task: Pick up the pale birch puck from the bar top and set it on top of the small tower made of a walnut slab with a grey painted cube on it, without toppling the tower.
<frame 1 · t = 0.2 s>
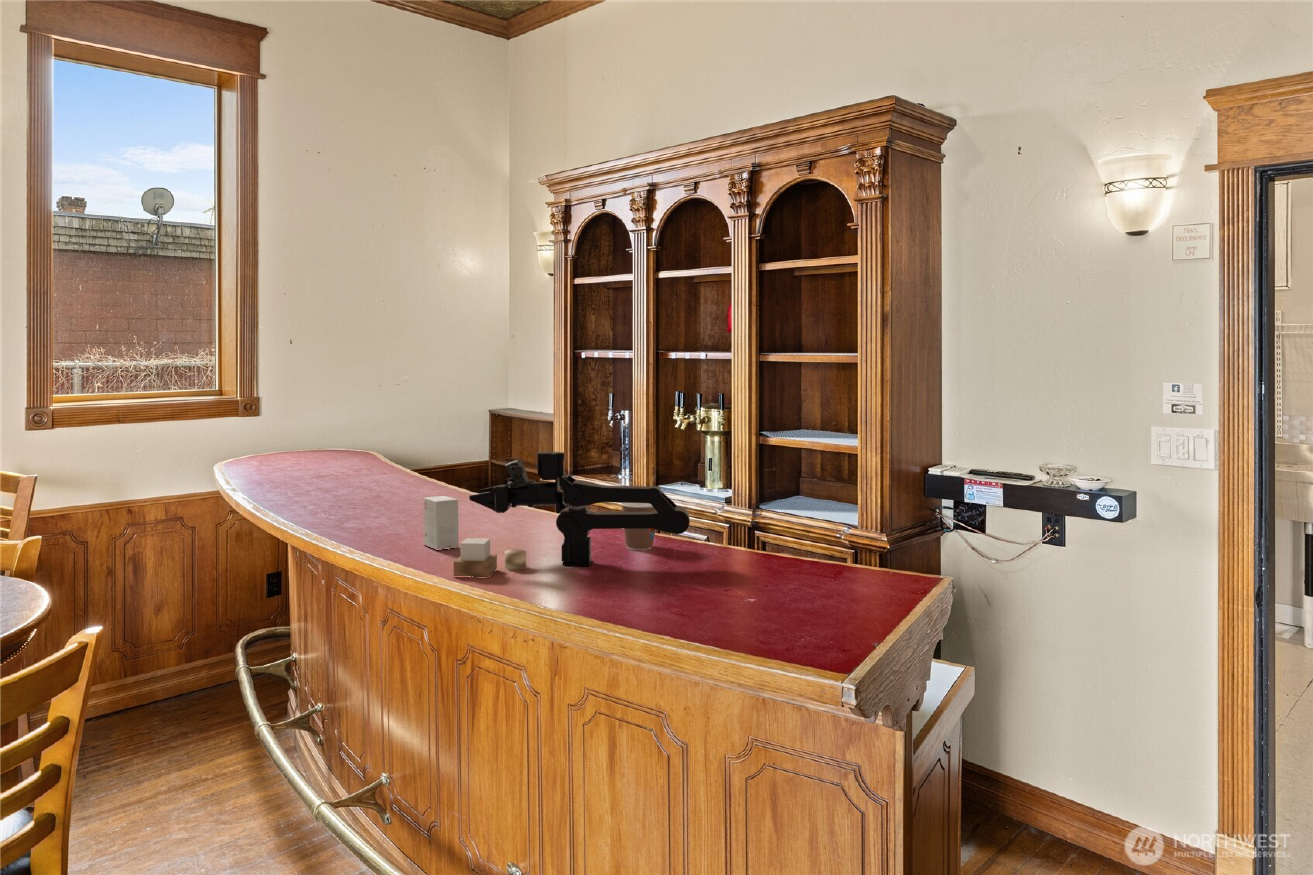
hand: (474, 494, 203), 16 cm above the table, tool horizontal, fingers open, 9 cm apart
small box: (441, 547, 220), on the table
birch puck: (515, 568, 199), on the table
coffee cup: (639, 548, 222), on the table
walnut slab: (475, 574, 193), on the table, touching grey block
grey block: (475, 557, 193), point 4 cm above the table, touching walnut slab
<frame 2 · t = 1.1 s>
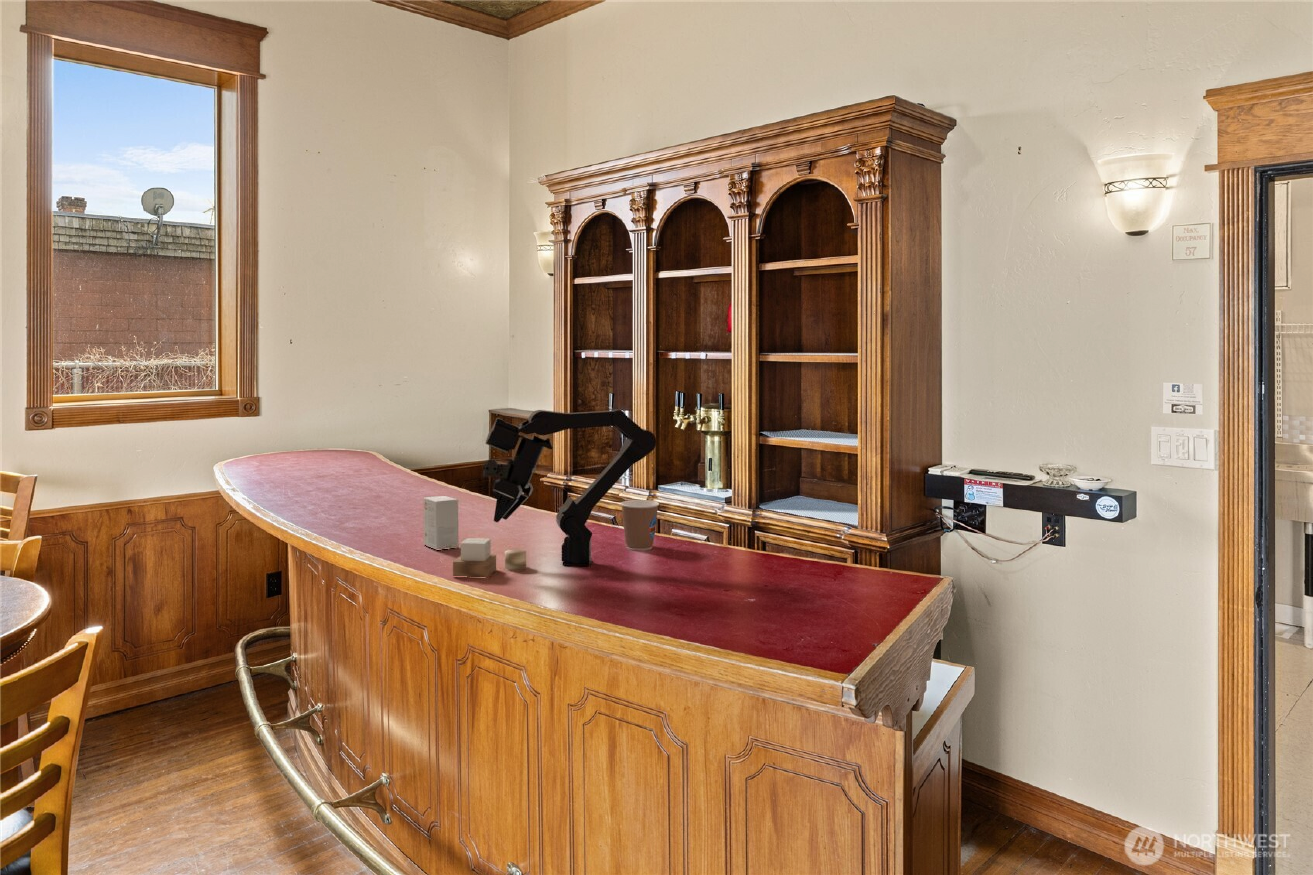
hand: (500, 520, 198), 11 cm above the table, tool tilted 25°, fingers open, 9 cm apart
walnut slab: (475, 575, 193), on the table
grey block: (475, 557, 193), point 4 cm above the table
everything else where it was.
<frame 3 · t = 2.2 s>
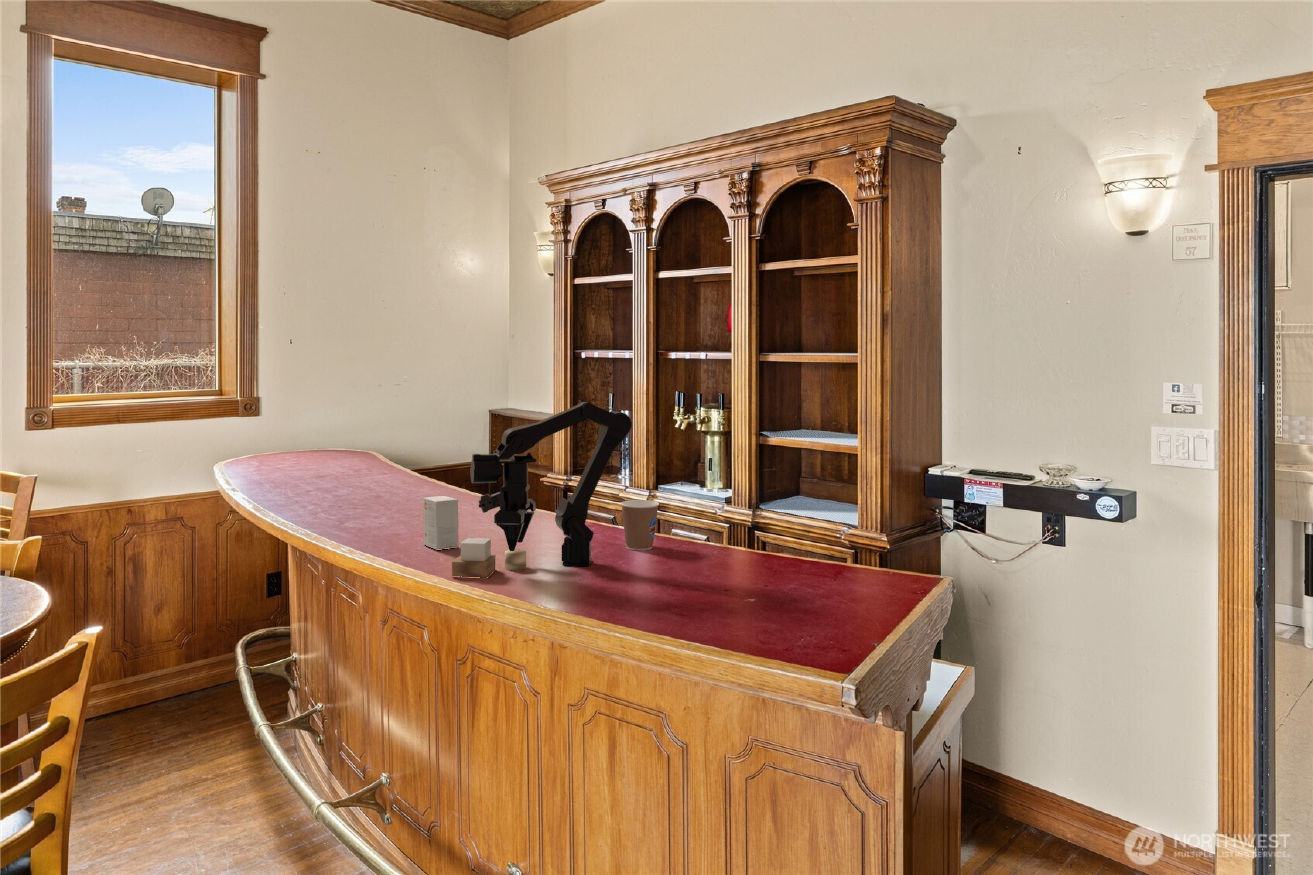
hand: (516, 546, 198), 5 cm above the table, tool pointing down, fingers open, 9 cm apart
walnut slab: (474, 575, 193), on the table, touching grey block
grey block: (476, 557, 193), point 4 cm above the table, touching walnut slab
everything else where it was.
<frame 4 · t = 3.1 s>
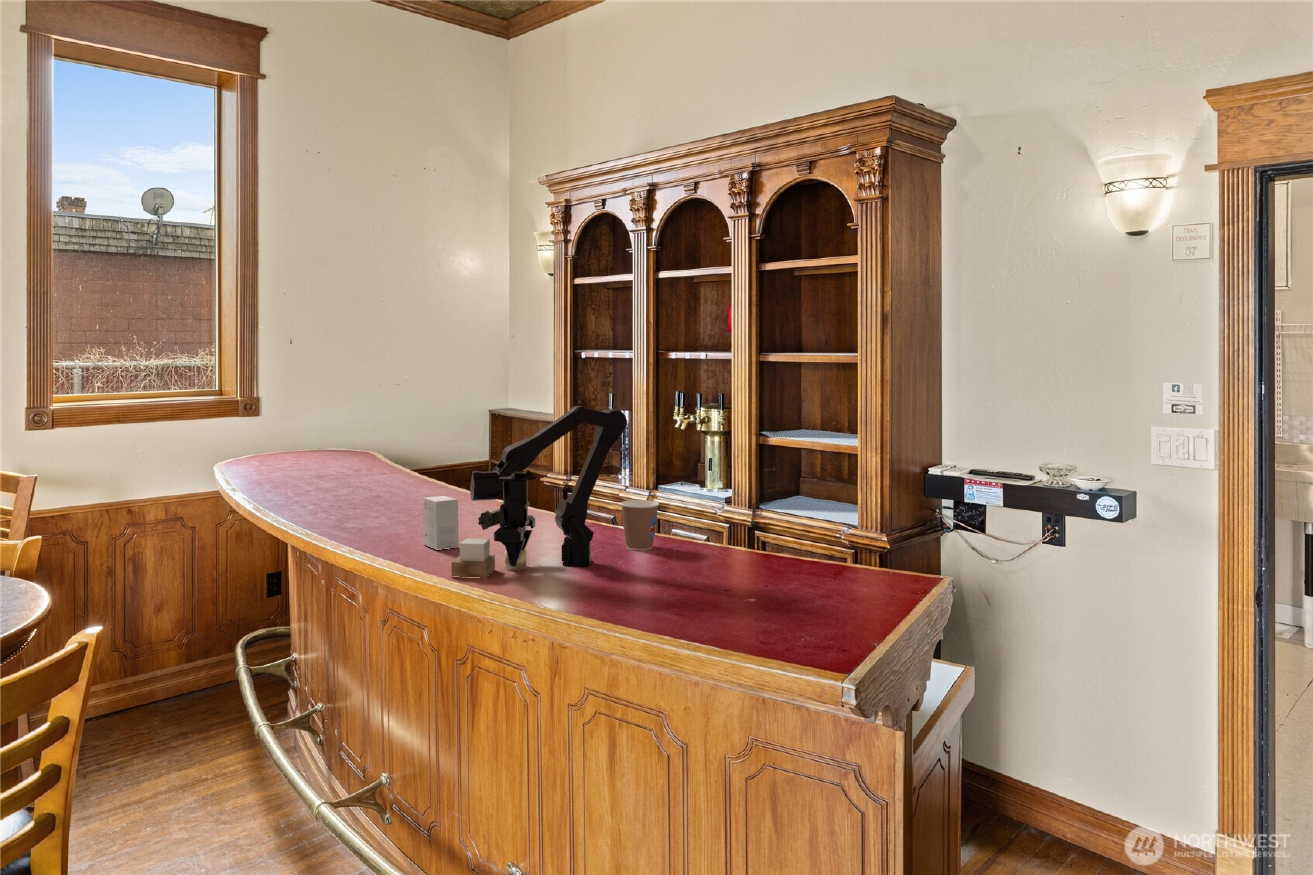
hand: (515, 563, 199), 1 cm above the table, tool pointing down, fingers closed on birch puck, 5 cm apart
birch puck: (515, 567, 199), on the table, touching gripper
everything else where it was.
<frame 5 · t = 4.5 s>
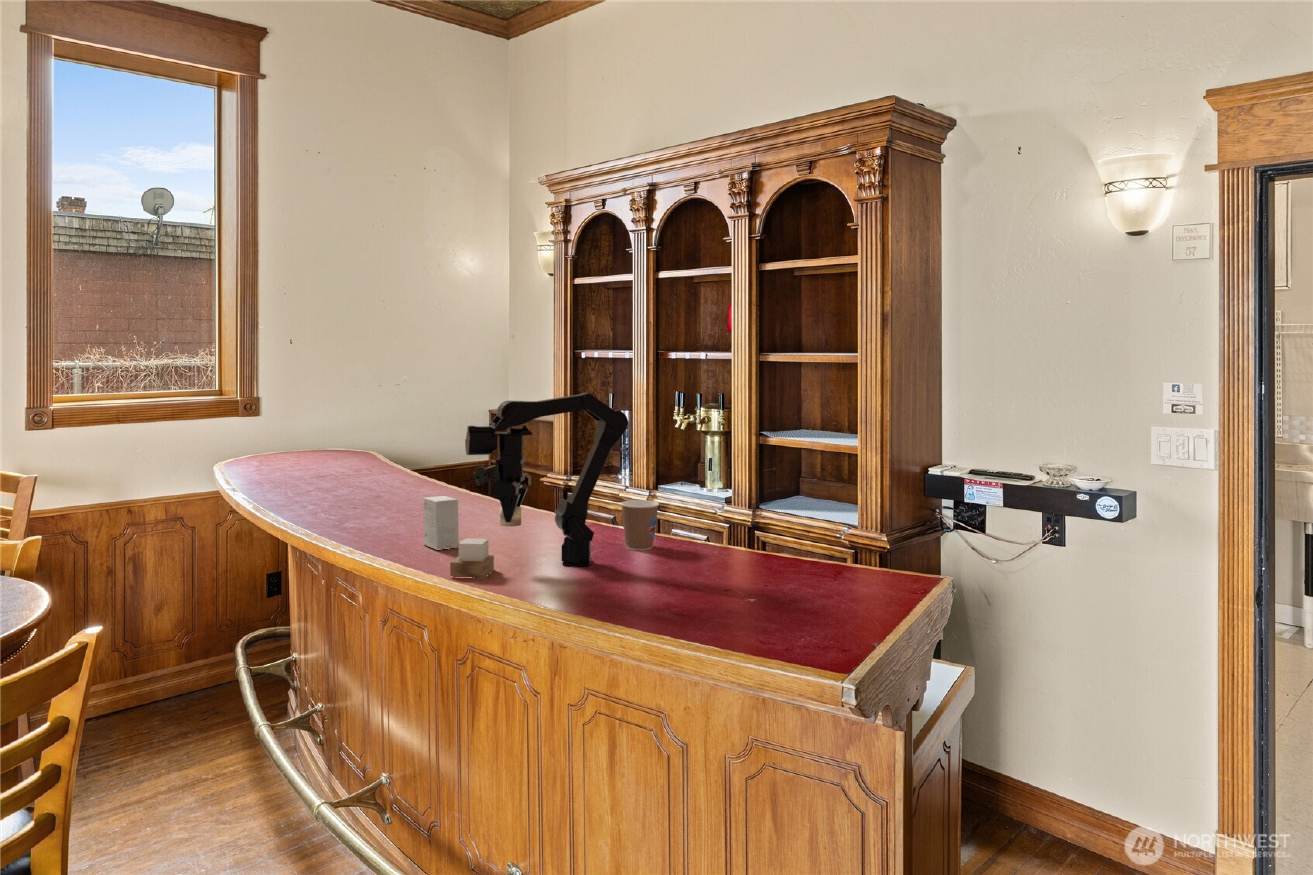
hand: (510, 520, 197), 12 cm above the table, tool pointing down, fingers closed on birch puck, 5 cm apart
birch puck: (510, 524, 197), point 11 cm above the table, touching gripper
everything else where it was.
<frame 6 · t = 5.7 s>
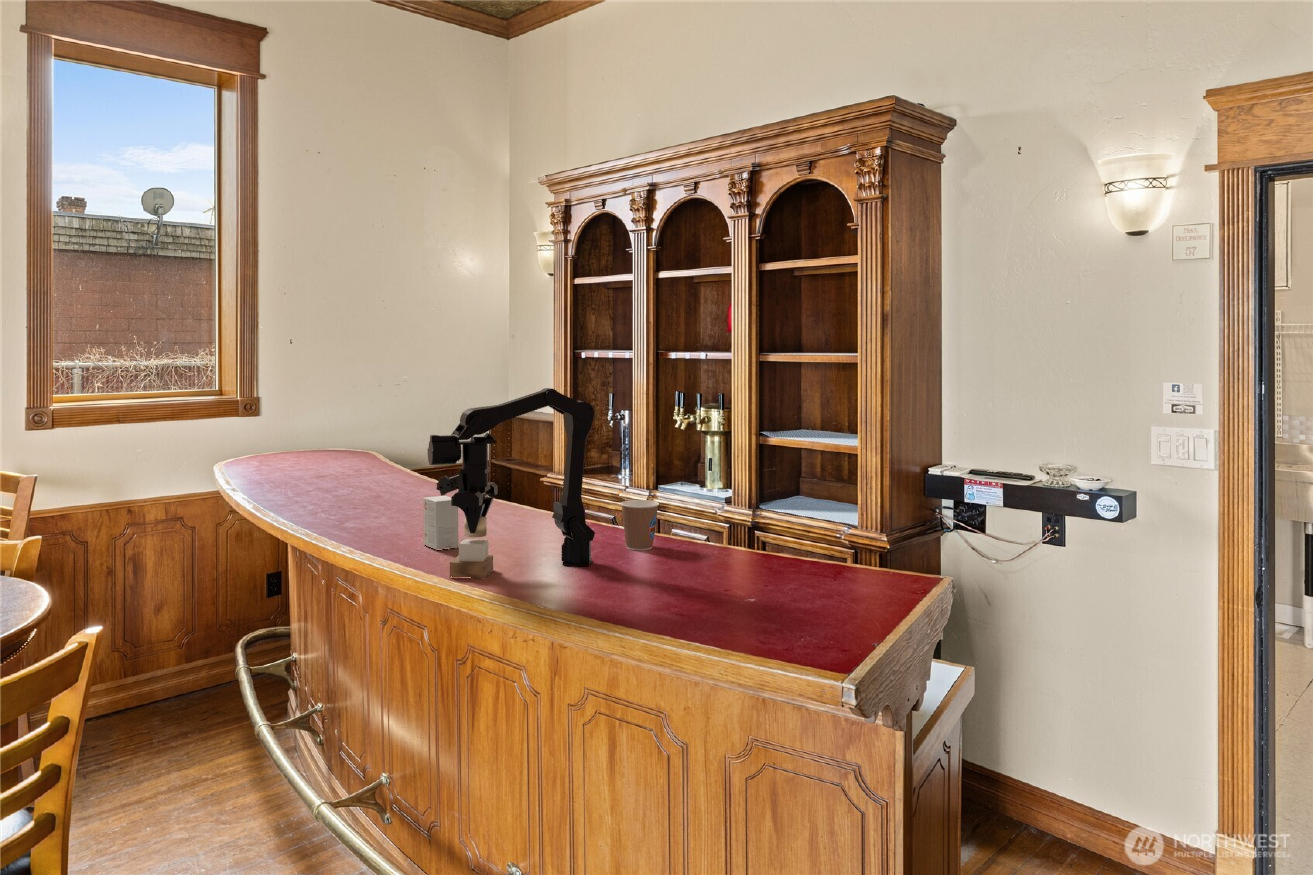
hand: (475, 530, 192), 10 cm above the table, tool pointing down, fingers closed on birch puck, 5 cm apart
birch puck: (475, 535, 192), point 9 cm above the table, touching gripper
everything else where it was.
when the fingers open (10 cm above the table, at t = 5.7 s): birch puck drops 1 cm, resting on grey block.
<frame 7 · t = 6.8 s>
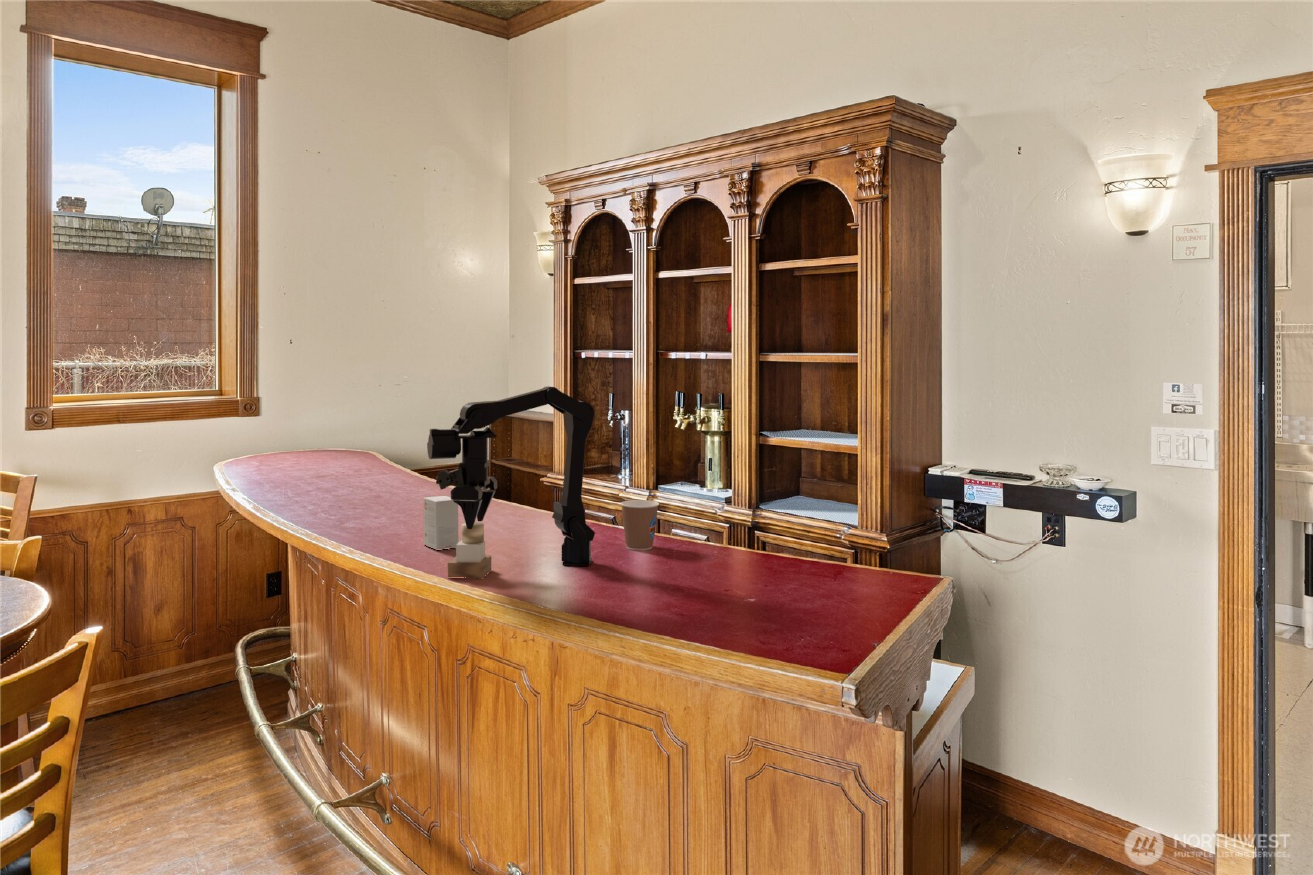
hand: (475, 525, 192), 11 cm above the table, tool pointing down, fingers open, 9 cm apart
birch puck: (472, 541, 192), point 8 cm above the table, touching grey block
grey block: (470, 559, 191), point 4 cm above the table, touching birch puck, walnut slab
everything else where it was.
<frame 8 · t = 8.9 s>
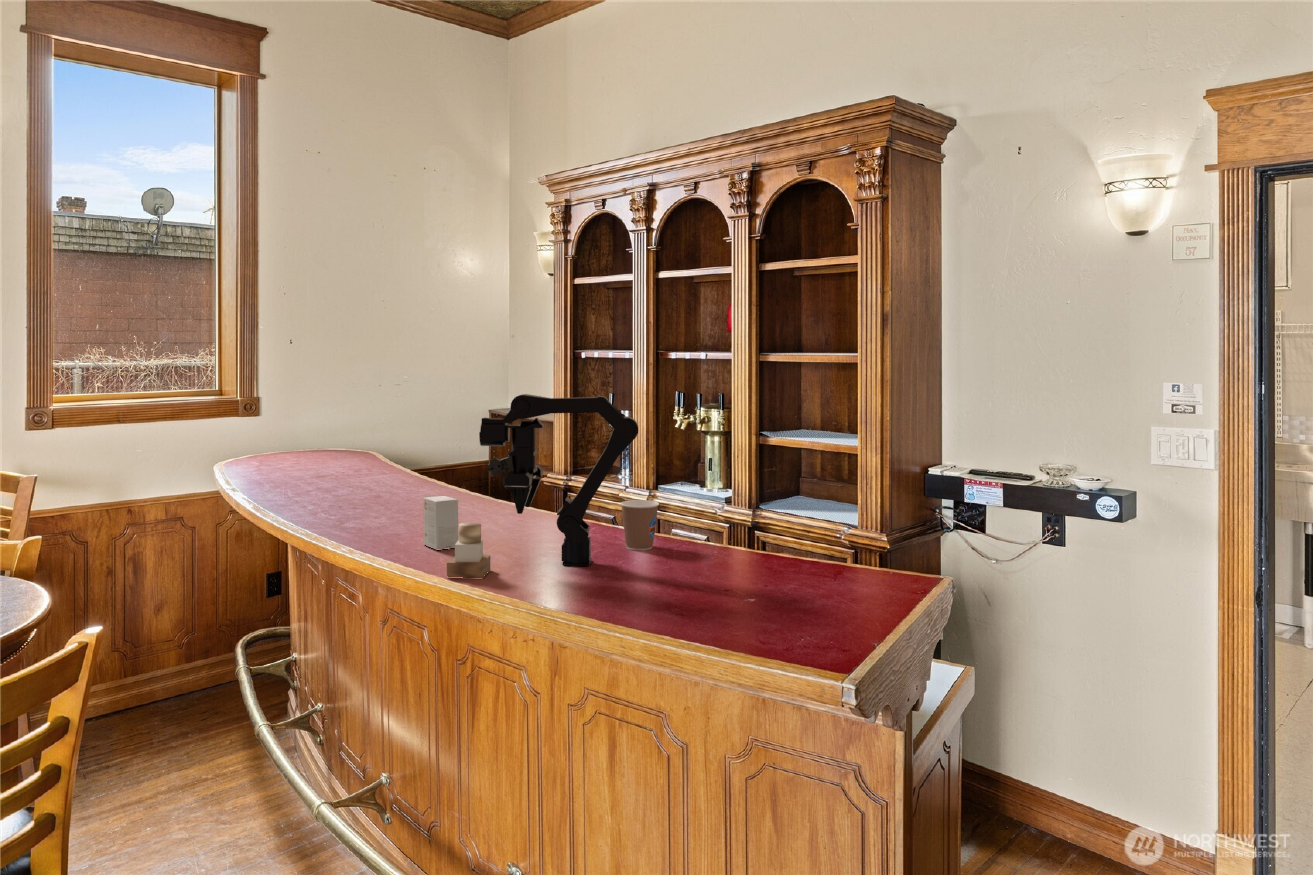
hand: (523, 510, 202), 13 cm above the table, tool pointing down, fingers open, 9 cm apart
at the end: birch puck 0.3 cm off-centre on the walnut slab, point 8.0 cm above the walnut slab's base; grey block tilted 0°; birch puck tilted 0° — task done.
